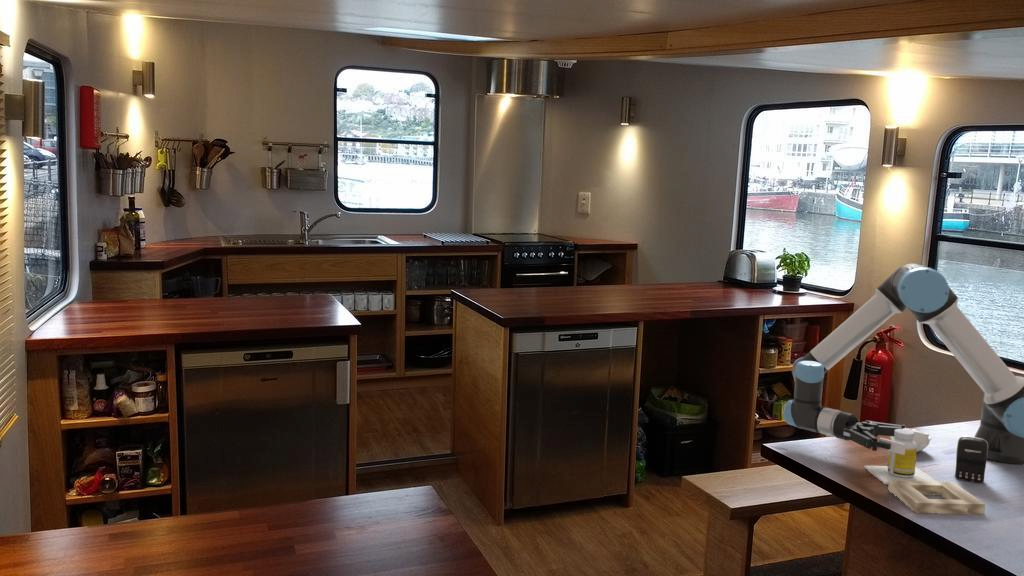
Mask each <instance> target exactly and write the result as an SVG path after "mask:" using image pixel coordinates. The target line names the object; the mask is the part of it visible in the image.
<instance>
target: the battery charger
mask: <svg viewBox="0 0 1024 576" xmlns="http://www.w3.org/2000/svg"><path fill="white" fill-rule="evenodd" d="M987 455H988V443H987V441H986V440H984V439H981V438H976V437H975V436H968V435H962V436H960V437H959V438H958V440H957V446H956V455H955V469H954V470H955V471H954V477H955V478H956V479H957V480H960V481H963V482H971V483H978V484H983V483H984V482H985V473H986V466H987V461H988V459H987Z"/></svg>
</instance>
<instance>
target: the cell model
mask: <svg viewBox="0 0 1024 576" xmlns="http://www.w3.org/2000/svg"><path fill="white" fill-rule="evenodd" d="M905 429H910V430H914V431H918V432H922V433H926V432H924V431H921V430H918V429H913V428H907V427H905ZM926 434H928V433H926ZM889 437H890V440H892V439H893V438H895V436H889ZM932 439H933V438H932V437H931V435H930V434H929V438H928V444H927V445H926V444H922V443H918V442H915V443H916V444H917V453H918V452H920V451H923V450H924V449H926V448H927V447H928V446H929V445H930V442H931V440H932Z"/></svg>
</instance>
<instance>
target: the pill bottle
mask: <svg viewBox="0 0 1024 576" xmlns="http://www.w3.org/2000/svg"><path fill="white" fill-rule="evenodd" d="M894 436H895V438H893V439H891V440H892V441H896V442H899V443H903V444H906V447H905V455H902V454H898V453H894V452H891V451H888V460H887V466H888V472H889V473H890V474H892V475H894V476H898V477H904V478H909V477H913V476H914V474H915V467H916V465H917V464H916V460H917V453H918V452H917V444H916V443H915V442H914V441H913V438H914V432H913V431H910V430H906V429H895V431H894Z"/></svg>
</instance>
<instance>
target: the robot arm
mask: <svg viewBox="0 0 1024 576" xmlns="http://www.w3.org/2000/svg"><path fill="white" fill-rule="evenodd" d="M958 301H959V297H958V296H957V295H956V293H955V292H954V291H953V290H952V288H951V287H950V286H949V284H948V281H947V279H946V278H945V276H944V275H943V274H942V273H941V272H940V271H938V270H936V269H934V268H933V267H928V266H927V265H924V264H922V263H921V264H920V263H913V262H912V263H907V264H905V265H902V266H900V267H898V268H897V269H895V270H894V272H893V273H891V274H890V275H889V276H888V277H887V278H886V279H885V280H884V281H883V282H882V283H881V284H879V286H878V287H876V289H875V293H874V295H873V296H872V297H870V299H868V300H867V301H866V302H865V303H863V304H862V305H861V306H860V307H859V308H858V309H857V310H855V311H854V313H852V314H851V315H850V316H849V317H848V318H847V319H845V321H843V322H842V323H841V324H839V326H838V327H837V328H835V329H834V330H833V331H832V332H830V334H828V335H827V336H826V337H825V338H824V339H822V340H821V342H820V341H819V343H818V344H817V345H816V346H815V347H814V348H812V349H811V350H810V351H809V352H808V353H807V354H806V355H805V356H802V357H799V358H798V359H796V360H795V361H794V362H793V364H792V367H791V375H792V377H793V380H794V391H793V392H794V396H793V399H789V400H787V402H786V403H785V405H784V409H783V413H782V414H783V420H784V422H785V423H786V424H788V425H789V426H793V427H796V428H798V429H800V430H806V431H810V432H814V433H818V434H822V435H825V437H827V438H829V437H833V438H834V437H835V438H836V439H840V440H843V441H847V442H849V441H852V442H854V443H856V444H858V445H859V446H862V447H863V448H866V449H869V450H871V451H872V452H873V451H874V452H876V451H878V449H880V450H884V451H888V452H889V451H891V452H894V453H898V454H902V455H905V447H906V444H903V443H899V442H896V441H892V439H888V438H884V437H890V436H894V431H895V429H905V428H906V424H894V423H886V422H878V421H873V420H865V421H861V422H859V420H858V417H857V416H856V415H855V414H854V413H849V412H847V411H842V410H839V409H834V408H830V407H826V406H822V401H823V400H822V396H823V389H824V388H823V386H824V378H825V374H826V373H827V372H828V371H830V370H831V368H833V367H834V366H835V365H836V364H837V363H839V362H840V361H841V360H842V359H843V358H845V357H846V356H847V355H848V354H849V353H850V352H851V351H852V350H854V349H855V348H856V347H857V346H859V345H860V344H861V343H862V342H863V341H865V340H866V339H867V338H868V337H869V336H870V335H871V334H873V333H874V332H875V331H876V330H877V329H878V328H879V327H881V326H882V325H883V324H885V322H886V321H888V320H889V319H890V318H891V317H892V316H893V315H895V314H902V313H903V312H904V311H905V310H907V309H908V311H909V312H910V313H911V314H912V315H913V317H914V318H915V319H916V321H917V322H918V323H919V324H924V325H925V324H926V325H928V326H929V328H931V330H932V331H933V332H934V334H935V335H936V336H938V339H940V341H942V343H943V344H944V345H945V346H946V348H947V349H948V350H949V351H950V353H951V354H952V355H953V356H954V358H955V359H956V360H957V361H958V362H959V364H960V365H961V366H962V368H964V370H965V371H966V372H967V373H968V375H969V376H970V377H971V379H973V380H974V382H975V384H977V385H978V387H979V388H980V390H981V391H982V392H983V394H982V404H981V414H980V415H981V416H980V424H979V427H978V428H977V431H976V433H975V435H974V437H976V438H981V439H984V440H986V441H987V443H988V455H987V460H990V461H995V462H1000V463H1005V464H1015V465H1016V464H1018V465H1020V464H1022V465H1023V464H1024V376H1019V375H1015V374H1014V373H1013V372H1012V370H1010V368H1009V367H1008V366H1007V364H1006V363H1005V362H1004V361H1003V359H1002V358H1000V356H999V355H998V353H997V352H995V350H994V349H993V348H992V346H991V345H990V344H989V343H988V341H987V340H986V339H985V338H984V337H983V336H982V334H981V333H980V332H979V331H978V330H977V328H976V327H975V326H974V324H973V323H972V322H971V321H970V320H969V318H968V317H967V316H966V314H964V313H963V311H962V310H961V309H960V308H959V307H958ZM910 429H911V428H909V429H906V430H910ZM910 431H913V432H914V438H913V441H914V442H918V443H922V444H926V445H927V444H928V438H929V435H930V434H929V433H927V434H926V432H924V433H922V432H923V431H921V432H918V431H919V430H918V431H914V430H910ZM878 436H884V437H878Z"/></svg>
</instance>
